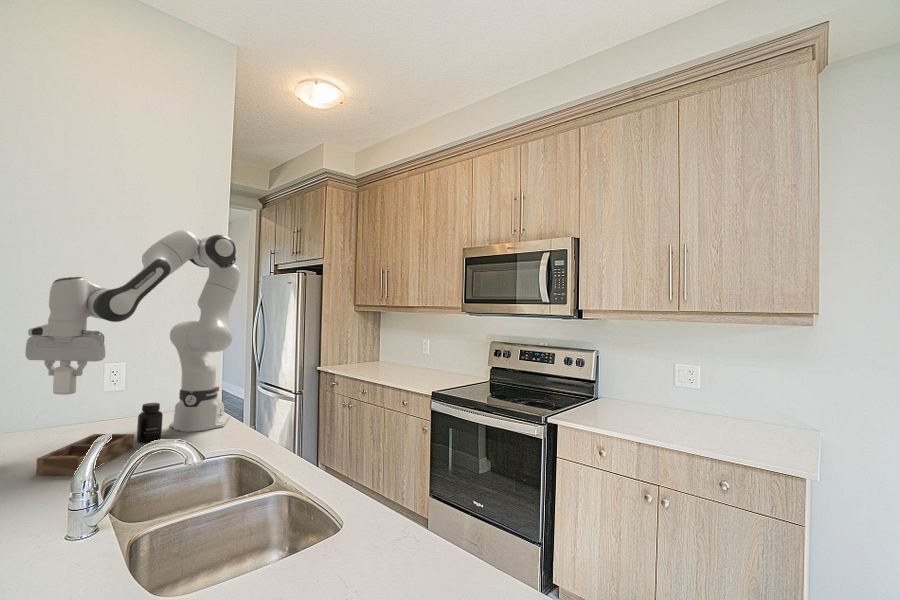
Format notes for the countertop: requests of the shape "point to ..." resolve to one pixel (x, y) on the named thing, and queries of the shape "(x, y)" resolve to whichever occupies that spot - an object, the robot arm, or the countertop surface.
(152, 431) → the supplement bottle
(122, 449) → the wooden divided tray
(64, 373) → the eye dropper bottle
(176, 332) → the robot arm
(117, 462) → the countertop surface
